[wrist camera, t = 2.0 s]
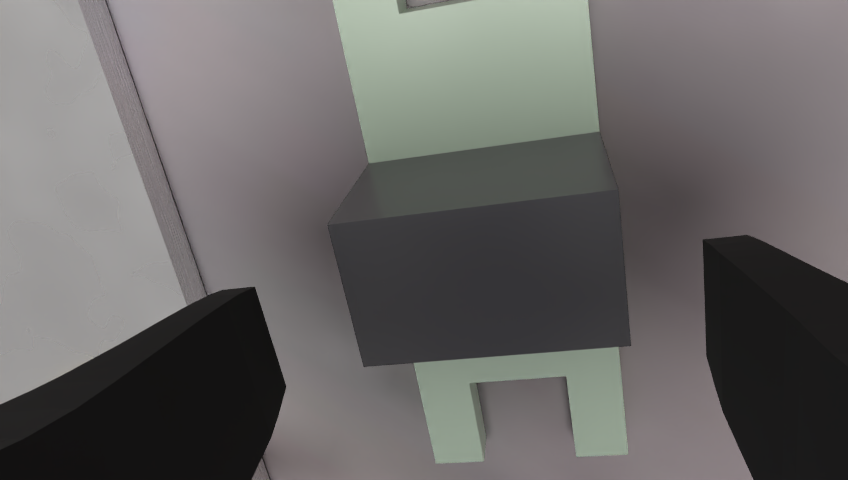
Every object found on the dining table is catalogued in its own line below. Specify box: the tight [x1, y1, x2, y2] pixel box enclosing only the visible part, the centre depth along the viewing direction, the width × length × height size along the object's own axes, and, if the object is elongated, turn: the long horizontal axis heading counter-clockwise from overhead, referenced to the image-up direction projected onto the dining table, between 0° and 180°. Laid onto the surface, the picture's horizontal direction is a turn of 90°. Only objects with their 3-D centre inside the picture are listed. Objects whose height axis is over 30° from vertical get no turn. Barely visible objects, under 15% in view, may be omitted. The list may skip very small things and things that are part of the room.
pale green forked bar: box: [327, 0, 631, 464], centre depth 14 cm, size 14×5×4 cm, turn 11°
